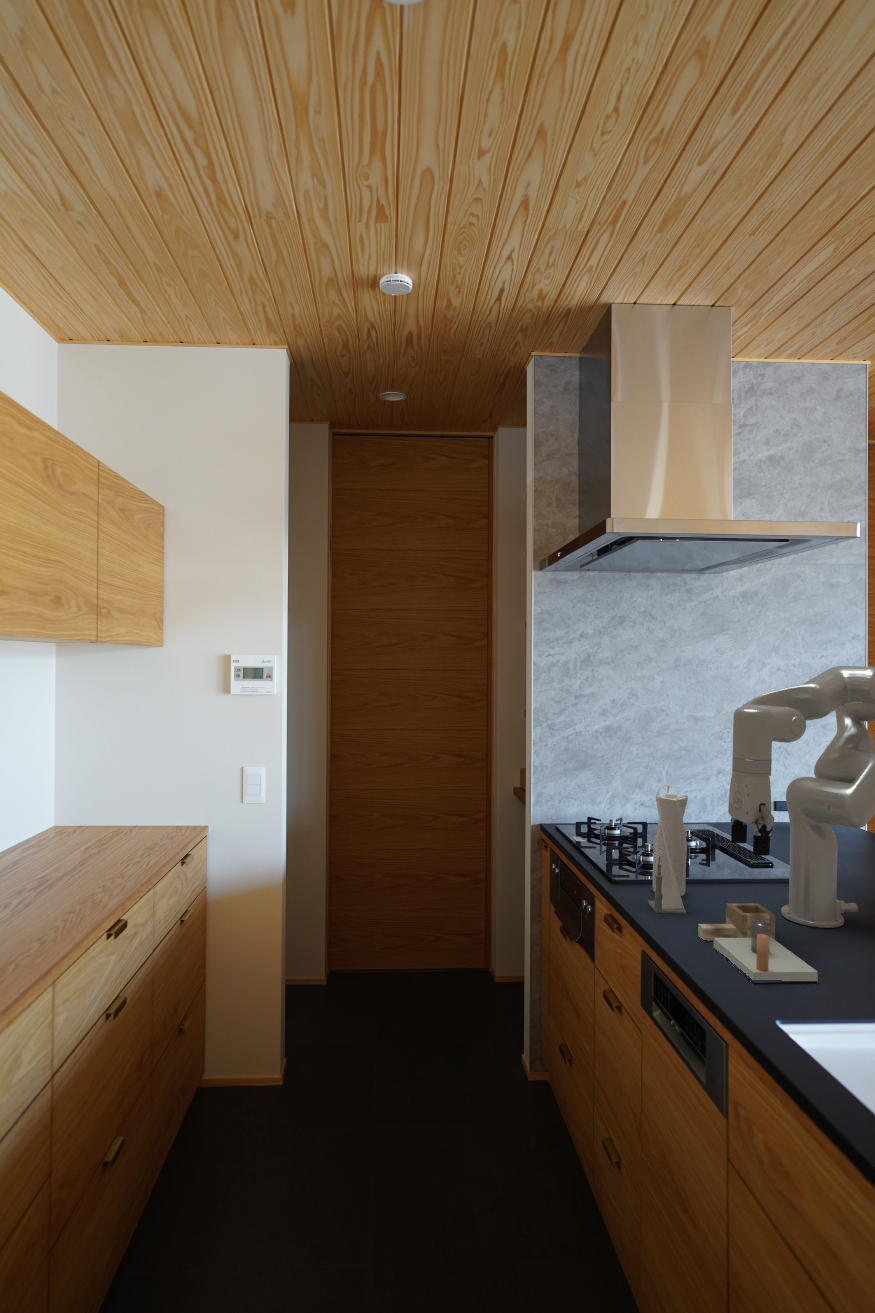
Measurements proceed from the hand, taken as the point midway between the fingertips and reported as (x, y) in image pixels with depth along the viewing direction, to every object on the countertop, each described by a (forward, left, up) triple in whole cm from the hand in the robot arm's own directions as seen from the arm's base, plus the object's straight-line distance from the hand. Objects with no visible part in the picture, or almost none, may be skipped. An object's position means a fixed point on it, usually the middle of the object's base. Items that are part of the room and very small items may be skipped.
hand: (749, 848), depth 153 cm
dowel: (+7, +20, -16) cm, 27 cm away
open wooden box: (+3, 0, -18) cm, 19 cm away
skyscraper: (+10, -19, -19) cm, 28 cm away
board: (+4, +13, -19) cm, 23 cm away
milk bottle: (+6, -29, -19) cm, 35 cm away
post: (+4, +12, -17) cm, 21 cm away
